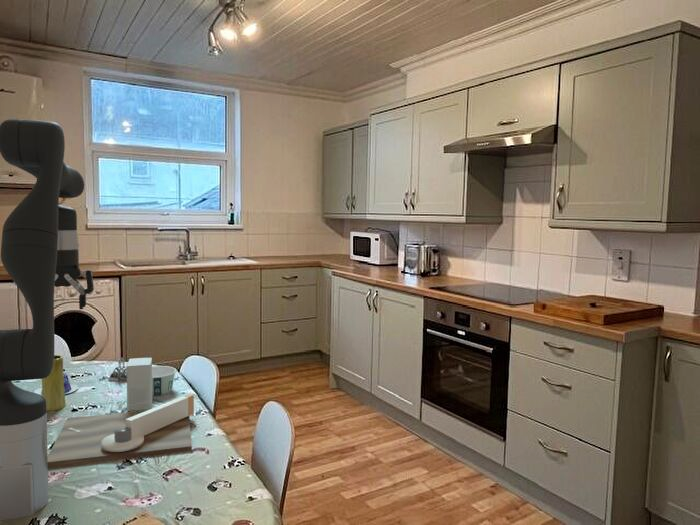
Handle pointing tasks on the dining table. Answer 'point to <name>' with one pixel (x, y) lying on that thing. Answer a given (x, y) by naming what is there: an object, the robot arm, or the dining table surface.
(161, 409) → the white pivot lever
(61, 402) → the vase
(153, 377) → the food container
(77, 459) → the board
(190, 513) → the dining table surface
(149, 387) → the small box
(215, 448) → the dining table surface
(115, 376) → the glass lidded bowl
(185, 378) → the dining table surface
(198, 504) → the dining table surface
